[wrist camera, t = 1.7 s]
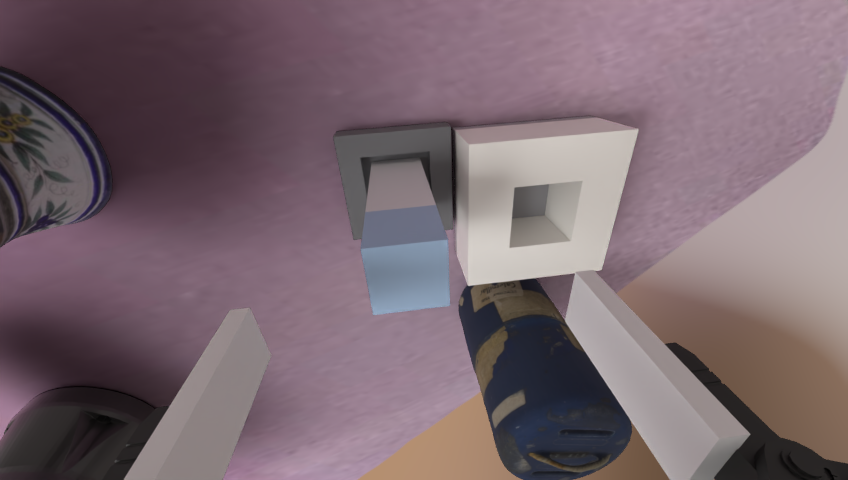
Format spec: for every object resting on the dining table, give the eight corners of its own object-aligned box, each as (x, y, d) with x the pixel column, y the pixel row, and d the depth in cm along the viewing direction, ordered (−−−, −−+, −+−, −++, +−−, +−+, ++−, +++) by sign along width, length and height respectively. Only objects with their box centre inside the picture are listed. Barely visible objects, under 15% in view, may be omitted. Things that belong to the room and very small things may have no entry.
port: (454, 249, 33) (468, 285, 27) (452, 127, 27) (468, 144, 21) (568, 237, 33) (601, 270, 28) (590, 115, 27) (638, 129, 22)
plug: (378, 206, 29) (373, 315, 16) (371, 161, 26) (360, 249, 14) (422, 201, 29) (450, 305, 17) (419, 157, 27) (448, 239, 15)
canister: (507, 334, 40) (586, 512, 24) (440, 314, 37) (481, 501, 21) (553, 276, 36) (683, 444, 20) (483, 248, 33) (571, 418, 17)
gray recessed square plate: (355, 229, 30) (353, 239, 29) (336, 131, 26) (332, 136, 24) (449, 219, 31) (452, 229, 29) (446, 122, 26) (450, 126, 25)
